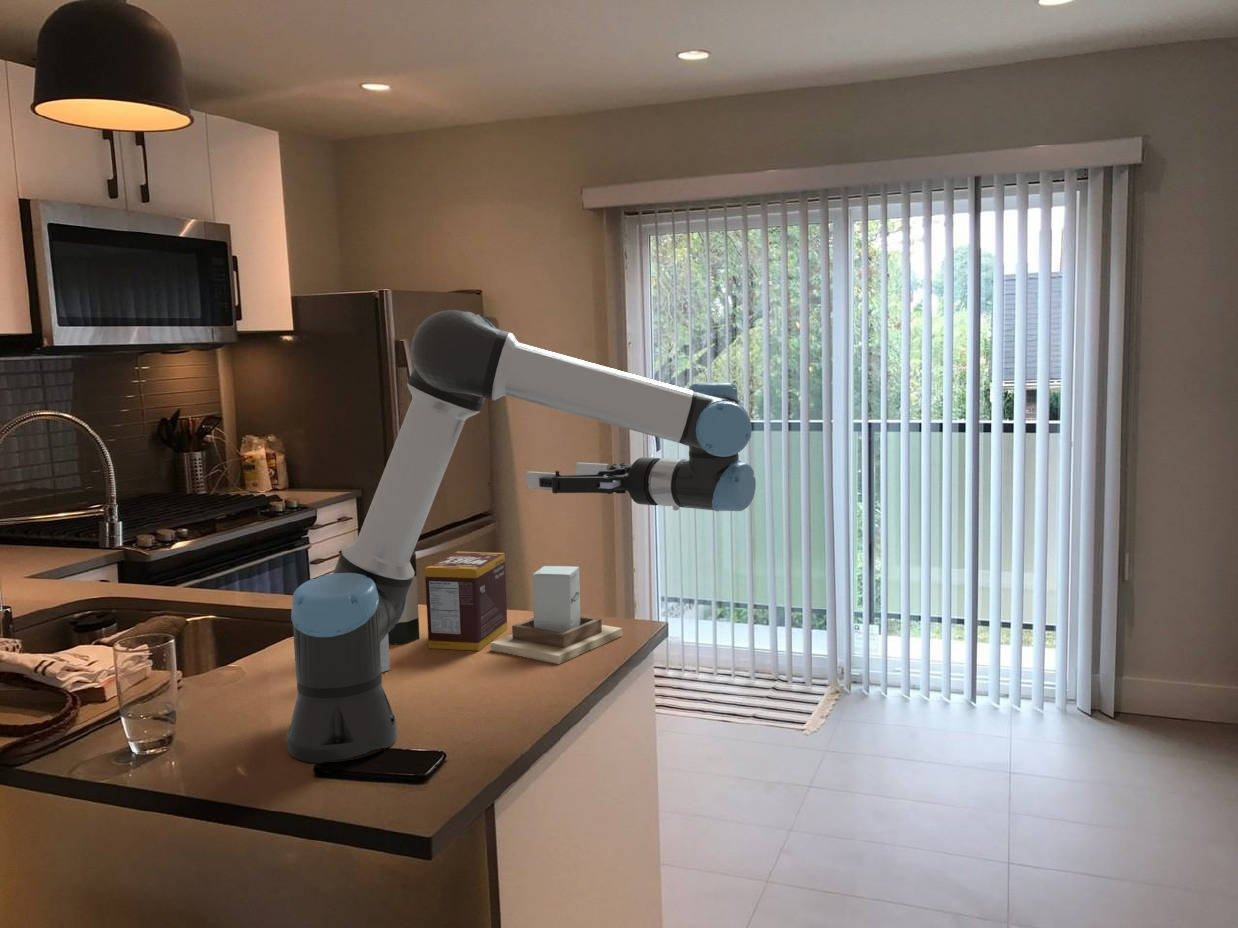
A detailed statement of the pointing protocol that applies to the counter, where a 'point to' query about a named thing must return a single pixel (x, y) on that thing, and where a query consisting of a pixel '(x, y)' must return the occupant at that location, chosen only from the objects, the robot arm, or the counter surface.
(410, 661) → the counter surface
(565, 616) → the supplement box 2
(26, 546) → the counter surface
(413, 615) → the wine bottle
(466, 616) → the supplement box
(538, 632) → the dock
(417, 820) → the counter surface
